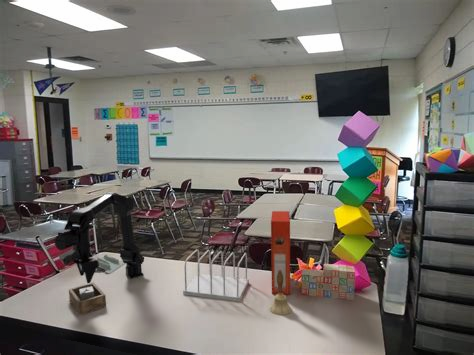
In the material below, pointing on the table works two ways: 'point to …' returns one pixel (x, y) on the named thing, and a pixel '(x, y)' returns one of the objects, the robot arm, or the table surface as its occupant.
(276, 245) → the file binder
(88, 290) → the dice cube
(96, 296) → the open wooden box
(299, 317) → the table surface
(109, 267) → the metal bracket
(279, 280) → the hand bell
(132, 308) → the table surface
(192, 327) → the table surface
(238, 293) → the file sorter
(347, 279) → the stack of blocks
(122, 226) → the robot arm
